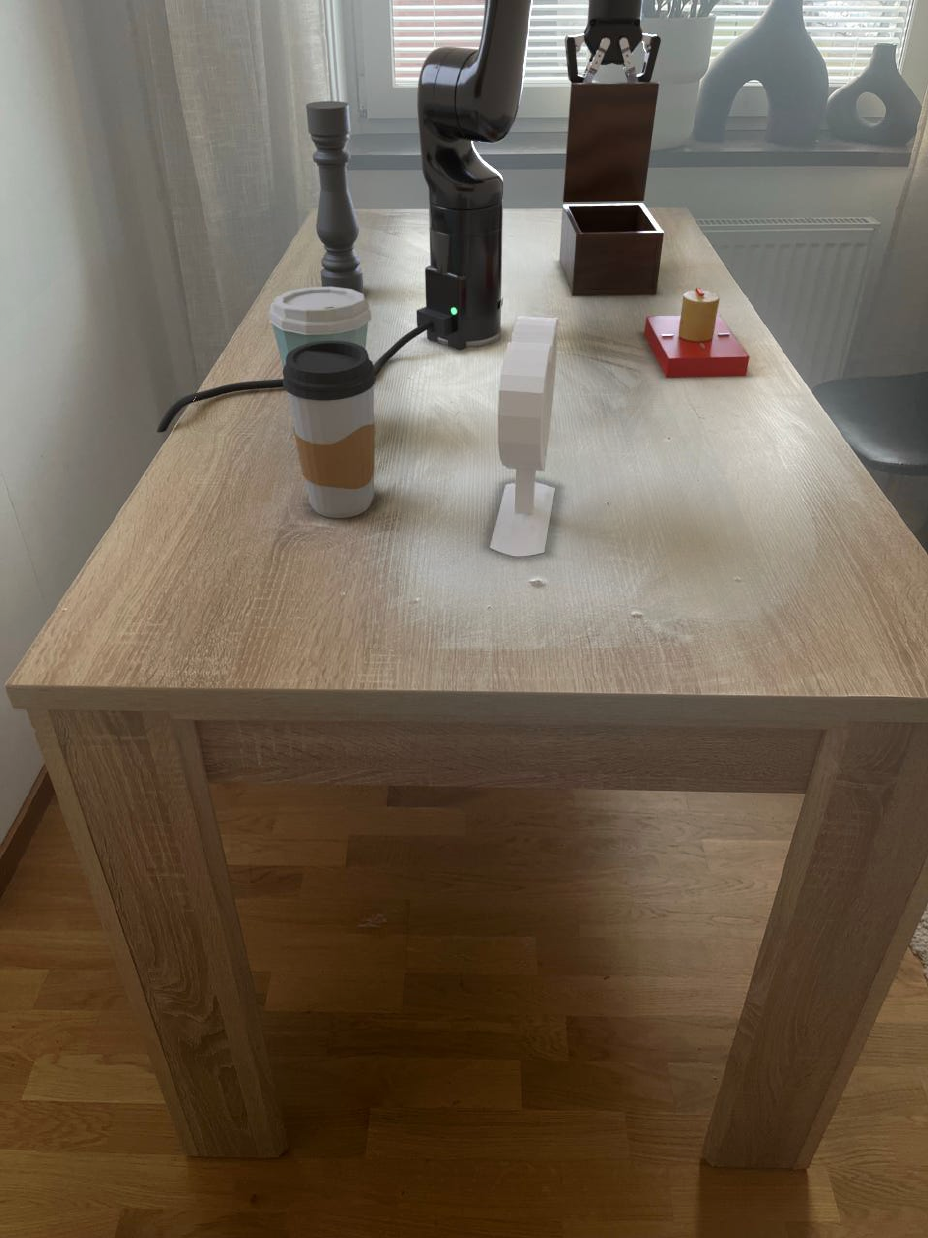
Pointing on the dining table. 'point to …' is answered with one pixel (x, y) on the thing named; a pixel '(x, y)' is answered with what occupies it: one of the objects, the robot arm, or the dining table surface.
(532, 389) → the heart sculpture
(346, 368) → the coffee cup
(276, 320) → the disposable coffee cup
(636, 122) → the box lid
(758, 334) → the dining table surface
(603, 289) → the dark wooden box
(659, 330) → the panel
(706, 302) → the valve knob
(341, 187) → the candle holder
